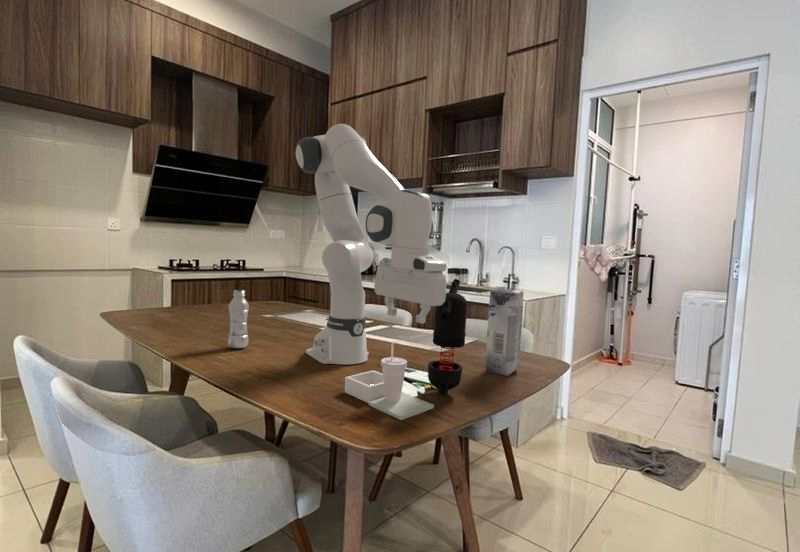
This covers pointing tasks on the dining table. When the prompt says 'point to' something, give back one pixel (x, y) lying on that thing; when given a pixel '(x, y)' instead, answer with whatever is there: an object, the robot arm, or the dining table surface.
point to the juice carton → (504, 330)
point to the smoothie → (393, 376)
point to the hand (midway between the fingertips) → (405, 319)
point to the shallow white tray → (365, 386)
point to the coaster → (402, 406)
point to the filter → (448, 339)
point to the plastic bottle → (238, 320)
